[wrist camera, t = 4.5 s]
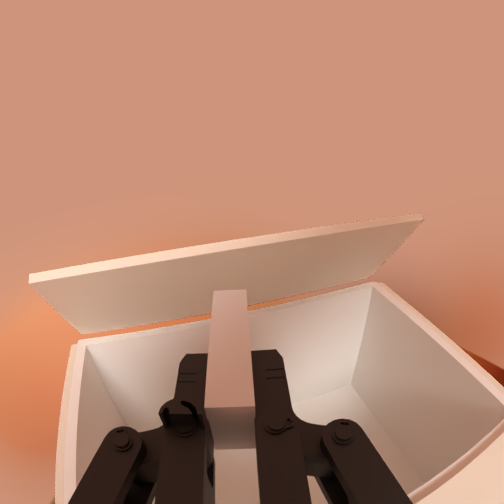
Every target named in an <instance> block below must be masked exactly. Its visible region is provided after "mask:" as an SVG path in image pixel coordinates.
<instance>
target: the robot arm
mask: <svg viewBox="0 0 504 504" xmlns="http://www.w3.org/2000/svg"><path fill="white" fill-rule="evenodd" d="M158 414H159V416H160V419H161V421H162V423H163V425H162V426H160V427H159V428H156V429H153V430H148V431H143V432H139V433H138V432H137V430H135V429H133V428H131V427H126V426H122V427H116V428H114V429H113V430H111V431H110V432H109V433H108V434H107V435H106V436H105V438H104V440H103V441H102V443H101V445H100V447H99V448H98V450H97V452H96V454H95V455H94V457H93V459H92V461H91V463H90V464H89V466H88V468H87V470H86V472H85V473H84V475H83V477H82V479H81V481H80V482H79V484H78V486H77V488H76V490H75V491H74V493H73V495H72V497H71V499H70V501H69V502H68V504H152V502H153V500H154V497H155V503H154V504H215V460H214V448H215V450H227V449H253V448H256V457H257V472H258V486H259V499H260V504H312V502H311V496H310V490H309V484H308V479H307V476H314V477H315V479H316V481H317V483H318V485H319V487H320V489H321V491H322V493H323V495H324V497H325V499H326V500H327V502H328V504H413V503H412V501H411V500H410V499H409V497H408V496H407V494H406V493H405V491H404V490H403V488H402V487H401V485H400V484H399V482H398V481H397V479H396V478H395V476H394V475H393V473H392V472H391V471H390V469H389V468H388V466H387V465H386V463H385V462H384V460H383V459H382V457H381V456H380V454H379V453H378V451H377V450H376V448H375V447H374V445H373V444H372V442H371V441H370V439H369V438H368V436H367V435H366V433H365V432H364V430H363V429H362V427H360V426H359V425H358V424H357V423H356V422H354V421H352V420H350V419H337V420H333V421H331V422H330V423H328V424H327V425H318V424H312V423H308V422H305V421H303V420H301V419H300V418H299V417H297V416H296V414H295V413H294V411H293V409H292V404H291V399H290V393H289V388H288V382H287V378H286V371H285V366H284V361H283V357H282V356H281V355H280V353H279V352H278V351H277V350H276V349H270V350H255V351H251V346H250V332H249V318H248V305H247V290H246V289H243V290H223V291H213V302H212V313H211V324H210V336H209V348H208V353H196V354H186V355H185V356H184V357H183V359H182V360H181V361H180V363H179V369H178V375H177V383H176V388H175V394H174V398H173V399H171V400H169V401H167V402H166V403H164V404H163V405H162V406H161V408H160V410H159V412H158Z"/></svg>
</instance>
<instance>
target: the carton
mask: <svg viewBox="0 0 504 504" xmlns="http://www.w3.org/2000/svg"><path fill="white" fill-rule="evenodd" d="M248 318H249V332H250V346H251V351H255V350H270V349H276V350H277V351H278V352H279V353H280V355H281V356H282V357H283V361H284V366H285V371H286V378H287V382H288V388H289V393H290V399H291V404H292V409H293V411H294V413H295V414H296V416H297V417H299V418H300V419H301V420H303V421H305V422H308V423H312V424H318V425H327V424H328V423H330V422H331V421H333V420H337V419H350V420H352V421H354V422H356V423H357V424H358V425H359V426H360V427H362V429H363V430H364V432H365V433H366V435H367V436H368V438H369V439H370V441H371V442H372V444H373V445H374V447H375V448H376V450H377V451H378V453H379V454H380V456H381V457H382V459H383V460H384V462H385V463H386V465H387V466H388V468H389V469H390V471H391V472H392V473H393V475H394V476H395V478H396V479H397V481H398V482H399V484H400V485H401V487H402V488H403V490H404V491H405V493H406V494H407V496H408V497H409V499H410V500H411V501H412V503H413V504H504V387H503V386H502V385H501V384H500V383H499V382H498V381H496V380H495V379H494V378H493V377H492V376H491V375H490V374H489V373H488V372H487V371H486V370H485V369H483V368H482V367H481V366H480V365H479V364H478V363H477V362H476V361H475V360H473V359H472V358H471V357H470V356H469V355H468V354H467V353H466V352H465V351H463V350H462V349H461V348H460V347H459V346H458V345H457V344H455V343H454V342H453V341H452V340H451V339H450V338H449V337H447V336H446V335H445V334H444V333H443V332H441V331H440V330H439V329H438V328H437V327H436V326H434V325H433V324H432V323H431V322H430V321H429V320H427V319H426V318H425V317H424V316H423V315H421V314H420V313H419V312H418V311H417V310H415V309H414V308H413V307H412V306H410V305H409V304H408V303H407V302H406V301H405V300H403V299H402V298H401V297H400V296H398V295H397V294H396V293H395V292H393V291H392V290H391V289H390V288H389V287H387V286H386V285H385V284H384V283H382V282H380V283H376V282H375V281H372V282H368V283H364V284H360V285H357V286H353V287H349V288H345V289H341V290H337V291H333V292H329V293H325V294H321V295H316V296H313V297H308V298H304V299H300V300H296V301H291V302H287V303H282V304H278V305H273V306H269V307H264V308H259V309H255V310H250V311H248ZM210 324H211V318H210V319H205V320H200V321H195V322H190V323H184V324H178V325H173V326H167V327H161V328H156V329H149V330H143V331H137V332H131V333H124V334H118V335H111V336H105V337H98V338H90V339H83V340H79V341H78V344H72V346H71V350H70V355H69V360H68V367H67V372H66V378H65V384H64V390H63V397H62V404H61V412H60V421H59V430H58V442H57V455H56V477H55V478H56V479H55V504H68V502H69V501H70V499H71V497H72V495H73V493H74V491H75V490H76V488H77V486H78V484H79V482H80V481H81V479H82V477H83V475H84V473H85V472H86V470H87V468H88V466H89V464H90V463H91V461H92V459H93V457H94V455H95V454H96V452H97V450H98V448H99V447H100V445H101V443H102V441H103V440H104V438H105V436H106V435H107V434H108V433H109V432H110V431H111V430H113V429H114V428H116V427H122V426H126V427H131V428H133V429H135V430H137V432H138V433H139V432H143V431H148V430H153V429H156V428H159V427H160V426H162V425H163V423H162V421H161V419H160V416H159V414H158V412H159V410H160V408H161V406H162V405H163V404H164V403H166V402H167V401H169V400H171V399H173V398H174V394H175V388H176V383H177V375H178V369H179V363H180V361H181V360H182V359H183V357H184V356H185V355H186V354H196V353H208V348H209V336H210ZM214 460H215V504H260V499H259V486H258V472H257V457H256V448H253V449H227V450H215V448H214ZM307 479H308V484H309V490H310V496H311V502H312V504H328V502H327V500H326V499H325V497H324V495H323V493H322V491H321V489H320V487H319V485H318V483H317V481H316V479H315V477H314V476H307ZM154 503H155V497H154V500H153V502H152V504H154Z"/></svg>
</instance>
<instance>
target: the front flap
mask: <svg viewBox="0 0 504 504" xmlns="http://www.w3.org/2000/svg"><path fill="white" fill-rule="evenodd" d="M423 220H424V217H423V216H422V214H421V213H416V214H409V215H401V216H394V217H387V218H380V219H372V220H365V221H359V222H351V223H344V224H338V225H330V226H323V227H316V228H310V229H303V230H296V231H289V232H283V233H276V234H269V235H263V236H256V237H250V238H243V239H237V240H231V241H224V242H218V243H211V244H205V245H198V246H192V247H186V248H180V249H174V250H168V251H162V252H155V253H149V254H143V255H137V256H131V257H125V258H119V259H114V260H108V261H102V262H96V263H90V264H85V265H79V266H73V267H67V268H61V269H55V270H50V271H44V272H39V273H34V274H29V284H30V285H31V286H32V287H33V288H34V289H35V290H36V291H37V292H38V293H39V294H40V295H41V296H42V297H43V298H44V299H45V300H46V301H47V302H48V303H49V304H50V305H51V306H52V307H53V308H54V309H55V310H56V311H57V312H58V313H59V314H60V315H61V316H62V317H63V318H64V319H65V320H66V321H68V322H69V323H70V324H71V325H72V326H73V327H74V328H75V329H76V330H77V331H79V332H80V333H81V334H89V333H96V332H103V331H110V330H117V329H123V328H130V327H136V326H142V325H148V324H153V323H160V322H166V321H172V320H177V319H182V318H188V317H193V316H199V315H204V314H210V313H212V302H213V291H223V290H243V289H246V290H247V305H248V306H250V305H254V304H259V303H264V302H269V301H273V300H278V299H283V298H287V297H291V296H296V295H300V294H305V293H309V292H313V291H317V290H322V289H326V288H330V287H334V286H339V285H342V284H346V283H351V282H355V281H359V280H363V279H367V278H370V277H371V276H372V275H373V274H374V273H375V272H376V271H377V270H378V269H379V268H380V267H381V266H382V265H383V264H384V263H385V262H386V260H387V259H388V258H389V257H390V256H391V255H392V254H393V253H394V252H395V251H396V250H397V249H398V248H399V247H400V246H401V245H402V243H403V242H404V241H405V240H406V239H407V238H408V237H409V236H410V235H411V234H412V233H413V231H414V230H415V229H416V228H417V227H418V226H419V225H420V224H421V222H422V221H423Z"/></svg>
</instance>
